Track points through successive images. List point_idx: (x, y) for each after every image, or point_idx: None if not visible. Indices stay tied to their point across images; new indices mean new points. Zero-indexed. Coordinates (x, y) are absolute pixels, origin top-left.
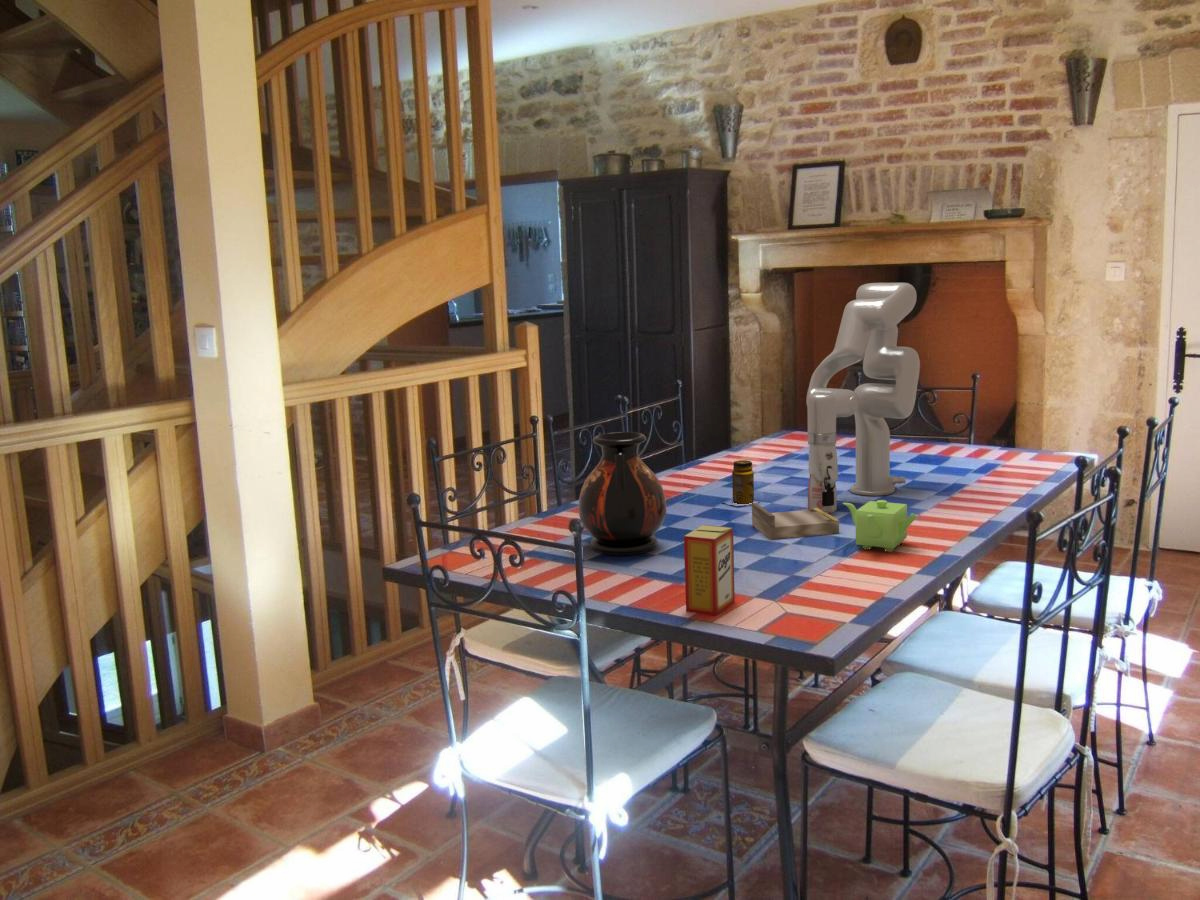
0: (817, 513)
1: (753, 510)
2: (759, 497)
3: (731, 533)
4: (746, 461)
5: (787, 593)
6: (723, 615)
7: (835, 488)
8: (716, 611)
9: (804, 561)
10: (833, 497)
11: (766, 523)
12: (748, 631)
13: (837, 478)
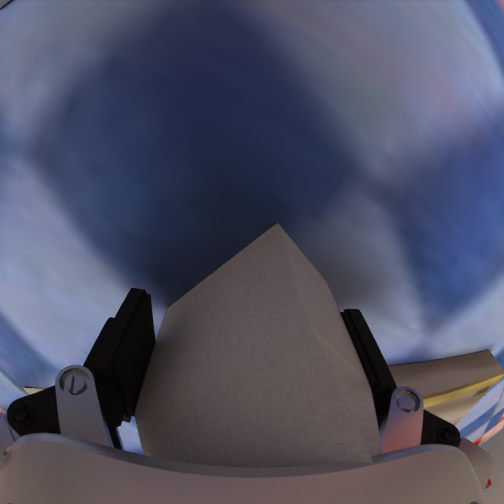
0: (426, 407)
1: None
2: (5, 355)
3: (490, 482)
4: None
5: (500, 418)
6: (478, 443)
7: (311, 338)
8: None
9: (488, 409)
10: (376, 347)
11: None
12: (498, 430)
13: (467, 459)
